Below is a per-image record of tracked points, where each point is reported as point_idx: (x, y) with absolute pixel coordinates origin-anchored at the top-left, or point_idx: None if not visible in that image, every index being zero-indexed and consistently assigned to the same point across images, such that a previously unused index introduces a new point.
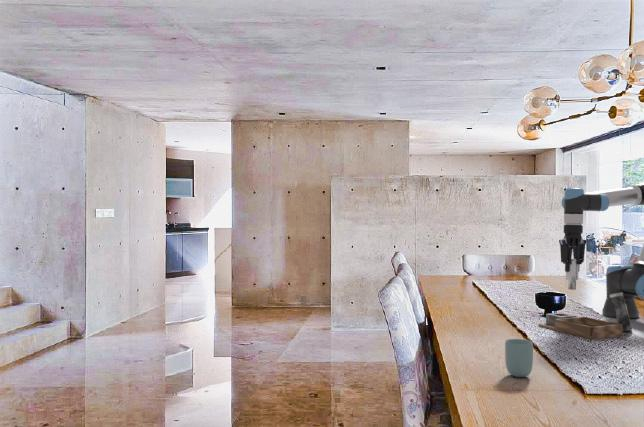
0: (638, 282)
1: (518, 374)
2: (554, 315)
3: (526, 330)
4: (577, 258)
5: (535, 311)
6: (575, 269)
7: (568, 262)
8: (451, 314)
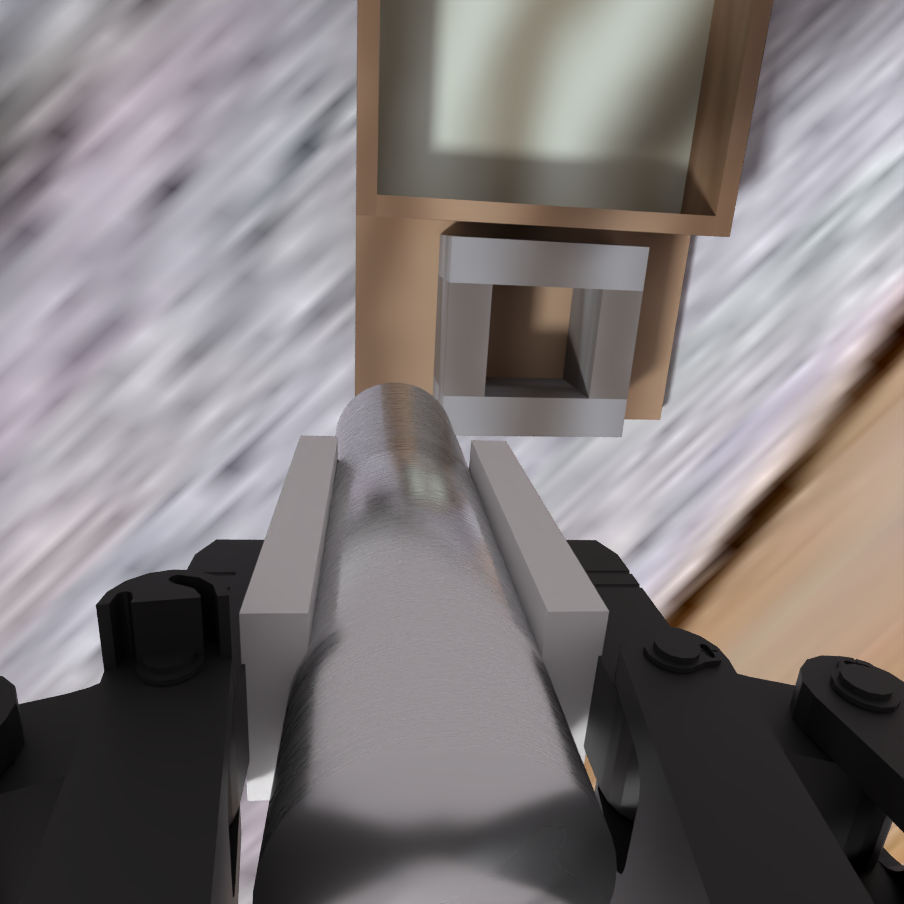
0: None
1: None
2: (624, 344)
3: (848, 333)
4: (216, 844)
5: None
6: (403, 519)
7: (731, 673)
8: None
